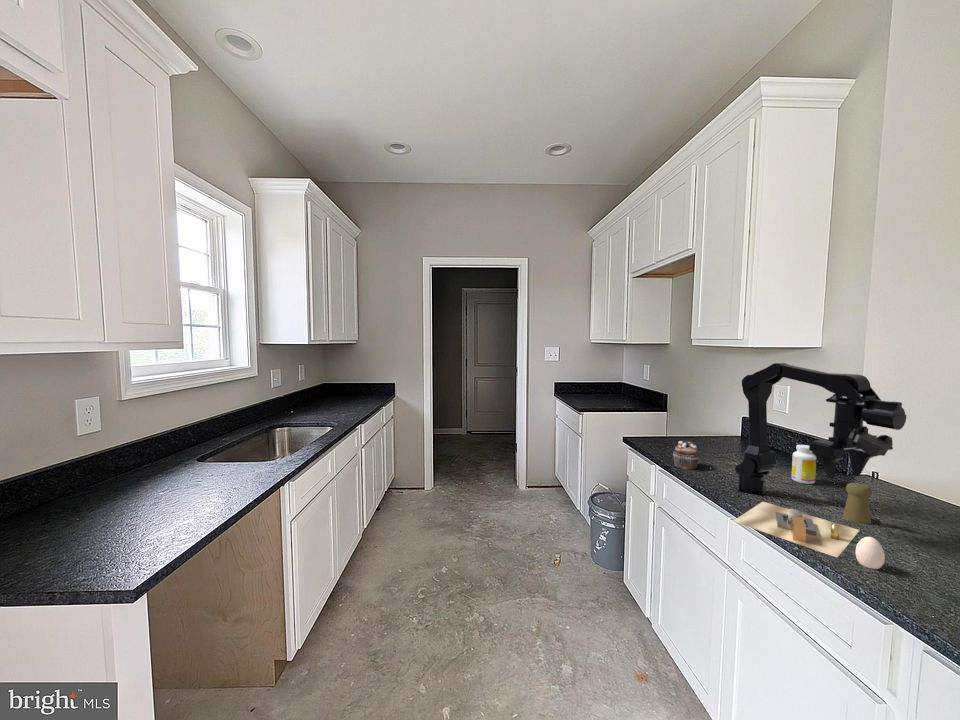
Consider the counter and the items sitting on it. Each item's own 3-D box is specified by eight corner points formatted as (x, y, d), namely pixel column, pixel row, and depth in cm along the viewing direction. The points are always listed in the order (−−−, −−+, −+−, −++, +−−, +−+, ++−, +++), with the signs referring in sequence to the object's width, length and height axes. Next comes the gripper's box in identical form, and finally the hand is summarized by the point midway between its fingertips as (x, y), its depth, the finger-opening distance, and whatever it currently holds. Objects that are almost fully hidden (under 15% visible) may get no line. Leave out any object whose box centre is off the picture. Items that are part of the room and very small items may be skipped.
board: (732, 524, 109) (733, 507, 109) (762, 504, 122) (763, 488, 122) (837, 561, 91) (838, 540, 91) (859, 533, 104) (860, 515, 104)
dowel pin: (829, 537, 100) (830, 524, 100) (831, 535, 101) (832, 522, 101) (837, 540, 99) (838, 527, 99) (839, 538, 100) (840, 525, 100)
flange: (775, 516, 112) (776, 502, 112) (811, 523, 108) (812, 509, 108) (779, 536, 101) (779, 521, 100) (820, 546, 96) (820, 530, 96)
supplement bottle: (819, 483, 140) (821, 447, 139) (807, 485, 138) (809, 449, 137) (798, 476, 146) (800, 443, 145) (786, 479, 144) (788, 444, 143)
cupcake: (668, 462, 163) (669, 438, 162) (692, 462, 163) (693, 438, 162) (679, 469, 153) (679, 444, 153) (704, 470, 153) (705, 445, 152)
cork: (841, 515, 115) (843, 478, 114) (870, 521, 111) (872, 483, 110) (842, 523, 110) (845, 484, 110) (873, 530, 107) (875, 490, 106)
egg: (868, 563, 91) (870, 532, 91) (889, 575, 86) (892, 542, 86) (848, 563, 91) (850, 532, 90) (869, 575, 86) (871, 543, 86)
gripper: (856, 430, 96) (851, 492, 97) (911, 426, 100) (906, 485, 102) (809, 420, 107) (805, 475, 108) (860, 417, 111) (856, 470, 112)
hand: (843, 477), depth 107 cm, fingers open, 9 cm apart
